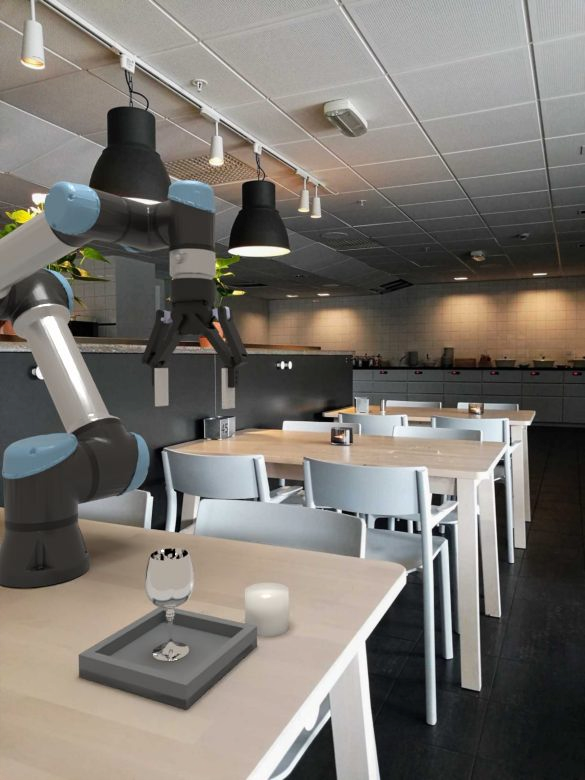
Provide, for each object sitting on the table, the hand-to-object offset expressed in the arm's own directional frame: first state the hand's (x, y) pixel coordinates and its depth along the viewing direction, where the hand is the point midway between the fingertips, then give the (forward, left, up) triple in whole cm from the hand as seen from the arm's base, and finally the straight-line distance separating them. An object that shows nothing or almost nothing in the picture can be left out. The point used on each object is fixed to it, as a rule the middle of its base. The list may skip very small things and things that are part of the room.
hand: (194, 407), depth 97 cm
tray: (+14, -25, -29) cm, 40 cm away
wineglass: (+14, -25, -28) cm, 40 cm away
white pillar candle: (+20, -12, -29) cm, 37 cm away
